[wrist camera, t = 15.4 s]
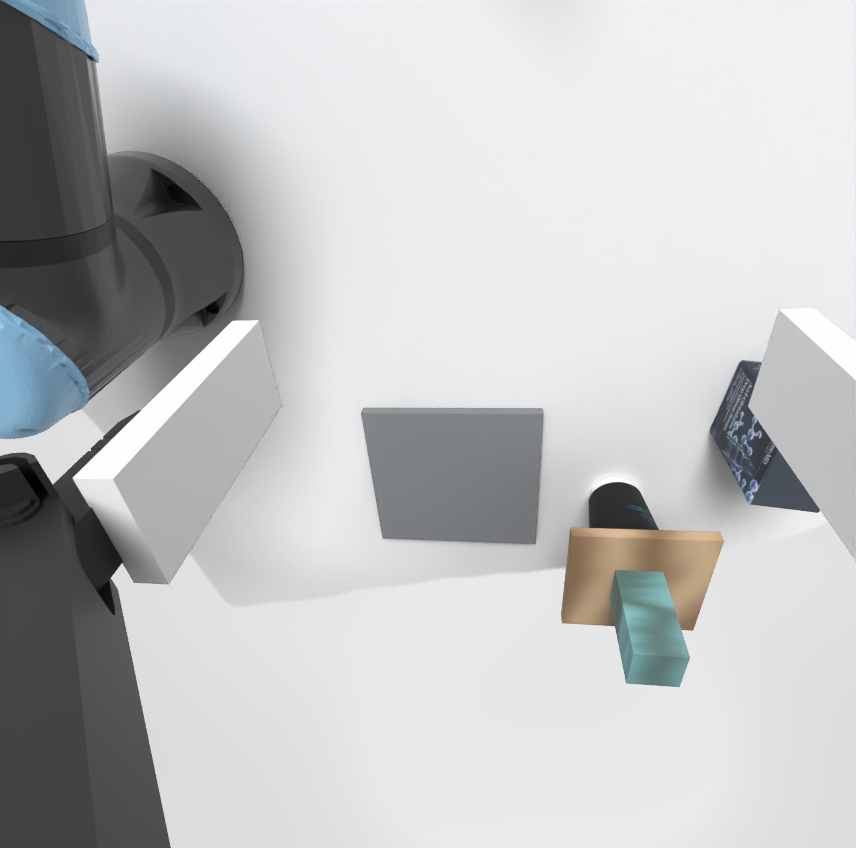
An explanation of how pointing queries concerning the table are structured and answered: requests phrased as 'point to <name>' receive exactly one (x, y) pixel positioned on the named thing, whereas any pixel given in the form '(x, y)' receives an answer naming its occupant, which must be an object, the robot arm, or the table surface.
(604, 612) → the lid
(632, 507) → the dixie cup
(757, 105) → the table surface
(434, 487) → the mat
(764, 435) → the box
